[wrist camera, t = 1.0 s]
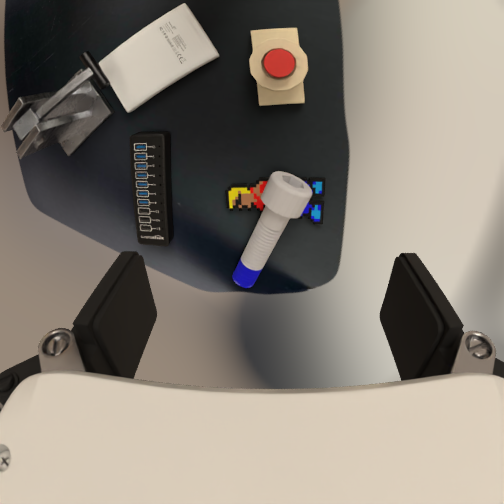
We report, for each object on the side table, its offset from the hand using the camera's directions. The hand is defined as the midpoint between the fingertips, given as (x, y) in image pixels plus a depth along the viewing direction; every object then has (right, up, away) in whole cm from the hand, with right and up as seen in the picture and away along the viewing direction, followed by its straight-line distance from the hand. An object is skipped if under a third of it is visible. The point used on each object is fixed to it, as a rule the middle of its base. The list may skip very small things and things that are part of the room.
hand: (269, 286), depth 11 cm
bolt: (-1, +4, +25) cm, 26 cm away
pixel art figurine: (+2, +8, +26) cm, 27 cm away
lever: (-21, +17, +13) cm, 30 cm away
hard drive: (-11, +24, +18) cm, 32 cm away
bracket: (-23, +20, +21) cm, 37 cm away
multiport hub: (-13, +10, +26) cm, 30 cm away
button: (+2, +20, +16) cm, 26 cm away
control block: (+2, +22, +18) cm, 28 cm away
